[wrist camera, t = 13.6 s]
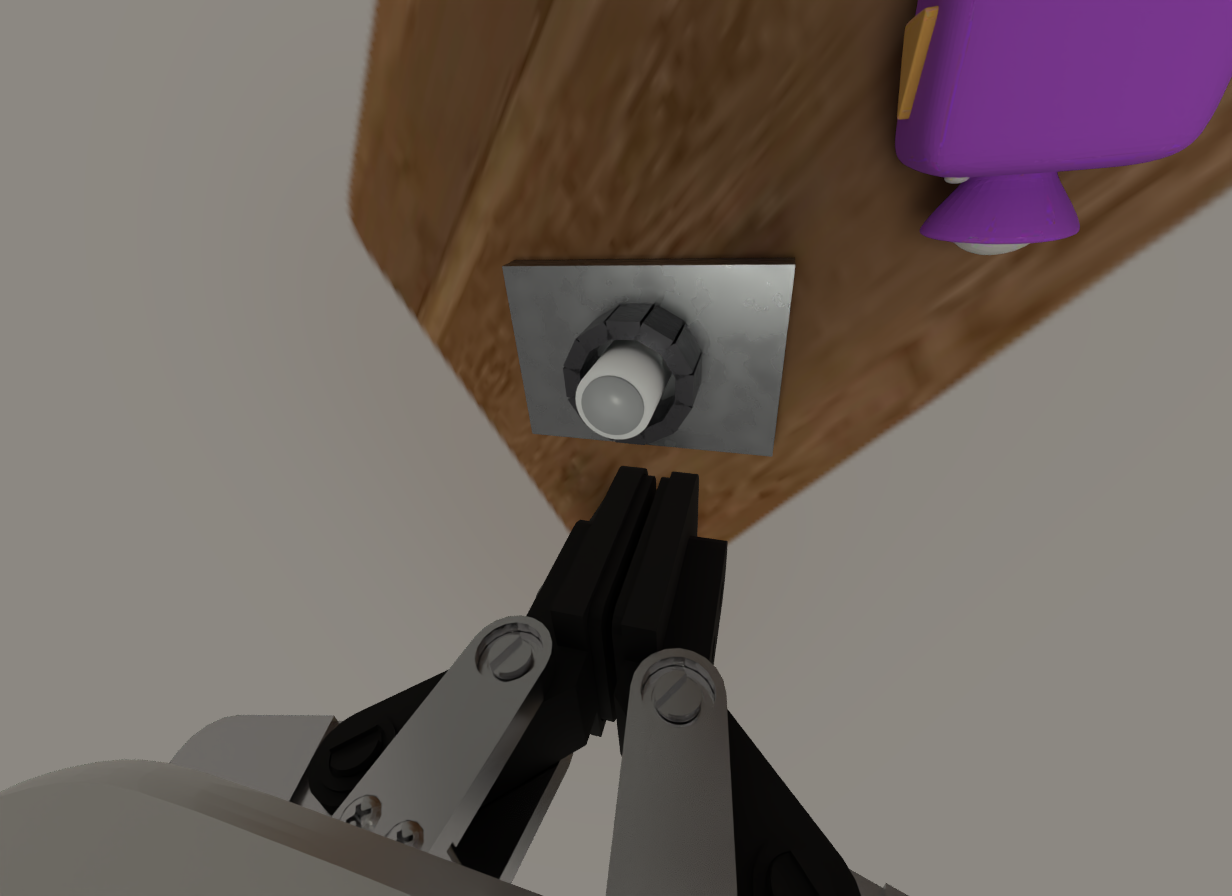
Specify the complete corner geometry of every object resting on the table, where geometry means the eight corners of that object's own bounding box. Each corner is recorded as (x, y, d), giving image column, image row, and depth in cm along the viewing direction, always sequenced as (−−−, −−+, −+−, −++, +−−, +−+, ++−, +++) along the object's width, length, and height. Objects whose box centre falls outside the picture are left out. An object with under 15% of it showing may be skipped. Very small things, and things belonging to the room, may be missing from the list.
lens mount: (514, 260, 37) (473, 280, 32) (794, 257, 32) (796, 281, 27) (541, 422, 45) (511, 458, 40) (772, 442, 39) (770, 487, 34)
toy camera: (884, 253, 30) (919, 300, 22) (878, -35, 24) (923, -114, 16) (1114, 204, 26) (1258, 240, 18) (1178, -158, 20) (1441, -348, 12)
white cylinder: (601, 333, 36) (565, 373, 30) (667, 325, 34) (642, 365, 29) (615, 395, 39) (584, 443, 33) (678, 390, 37) (657, 440, 31)
